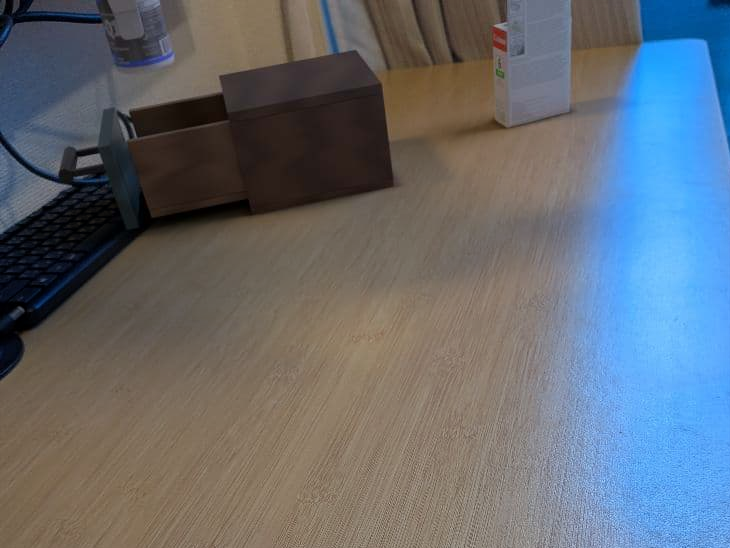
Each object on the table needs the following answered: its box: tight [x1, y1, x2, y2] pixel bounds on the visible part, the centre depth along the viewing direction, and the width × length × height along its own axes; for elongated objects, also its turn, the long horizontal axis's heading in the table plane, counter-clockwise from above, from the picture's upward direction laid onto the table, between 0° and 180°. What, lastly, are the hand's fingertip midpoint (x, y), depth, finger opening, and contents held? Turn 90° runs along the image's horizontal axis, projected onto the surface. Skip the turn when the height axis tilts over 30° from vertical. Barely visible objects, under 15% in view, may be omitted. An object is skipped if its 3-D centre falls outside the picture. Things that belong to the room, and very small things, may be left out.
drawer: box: [57, 91, 248, 231], centre depth 84 cm, size 18×13×8 cm
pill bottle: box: [94, 0, 175, 75], centre depth 64 cm, size 5×5×8 cm
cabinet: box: [218, 49, 395, 216], centre depth 85 cm, size 15×14×10 cm
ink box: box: [492, 0, 572, 129], centre depth 90 cm, size 4×8×15 cm, turn 110°
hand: (134, 28), depth 65 cm, fingers closed on pill bottle, 5 cm apart
